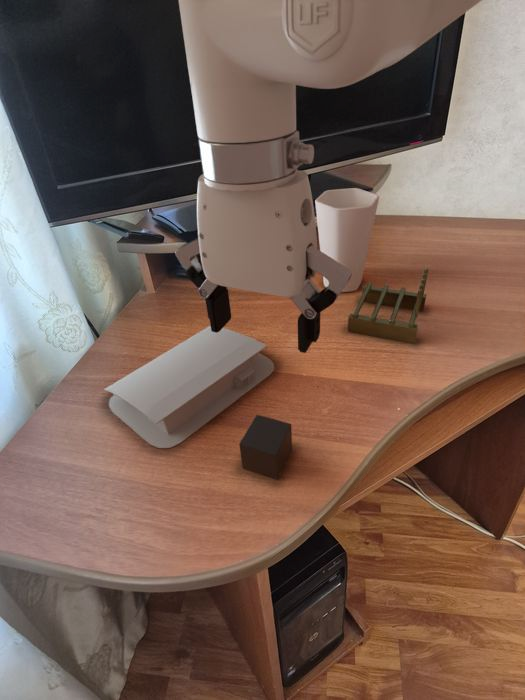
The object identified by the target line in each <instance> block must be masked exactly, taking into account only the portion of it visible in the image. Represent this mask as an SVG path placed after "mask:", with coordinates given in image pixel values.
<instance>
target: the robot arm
mask: <svg viewBox="0 0 525 700" xmlns="http://www.w3.org/2000/svg"><path fill="white" fill-rule="evenodd" d="M482 1H483V0H178V6H179V13H180V21H181V28H182V29H181V30H182V35H183V42H184V43H183V44H184V49H185V50H184V51H185V55H186V57H185V58H186V63H187V70H188V77H189V85H190V92H191V96H192V106H193V113H194V119H195V126H196V133H197V142H198V147H199V155H200V162H201V169H202V174H201V175H199V177H198V179H197V190H196V191H197V192H196V225H197V227H196V228H197V238H194V239H193V240H191V241H189V242H187V243H185V244H183V245H181V246H180V247H178V248H177V249H176V250H175V251H174V253H175V254H174V255H175V257H176V258H177V260H178V262H179V263H180V265H181V266H182V268H183V269H184V270H185V276H186V277H187V278H188V280H190V282H191V283H192V284H193V285H194V286H195V287H196V288H197V289H198V290H197V293H198V295H199V297H201V298H202V299H204V300H205V307H206V313H207V318H208V319H209V324H210V325H209V326H211V331H212V332H216V333H218V332H219V331H220V330H221V329H222V328H225V326H226V325H227V324H228V323H229V322H230V321H231V319H232V311H231V302H230V295H229V289H228V288H231V289H235V290H239V291H240V290H241V291H246V292H252V293H257V294H263V295H267V296H268V295H269V296H273V297H280V298H289V299H290V300H291V302H292V303H293V304H294V305H295V306H296V307H297V308H298V310H299V311H300V312H301V313H300V315H299V316H298V318H297V350H298V351H299V352H300V353H304V354H306V353H307V352H308V350H309V348H310V347H311V345H312V343H317V342H318V340H319V337H320V334H321V312H324V310H326V309H327V308H329V307H331V306H332V305H333V304H335V302H336V300H337V299H338V297H339V296H340V294H342V292H341V291H342V290H343V289H344V287H345V286H346V284H347V283H348V281H349V280H350V278H351V276H352V272H351V271H350V270H349V269H348V268H346V267H345V266H343V265H341V264H340V263H338V262H337V261H335V260H334V259H332V258H331V257H329V256H327V255H326V254H324V253H323V252H321V251H320V249H318V235H317V226H316V223H317V222H316V215H315V214H316V213H315V208H314V201H313V195H312V190H311V184H310V180H309V176H308V175H309V174H308V173H307V171H304V170H299V169H298V168H299V167H300V166H303V165H311V164H312V163H313V162H314V158H315V147H314V145H313V144H309V143H307V144H305V143H304V142H303V141H301V139H300V131H299V130H297V86H299V87H305V88H311V89H319V90H321V89H322V90H330V89H332V90H333V89H339V88H344V87H348V86H351V85H353V84H357V83H358V82H361V81H363V80H365V79H366V78H368V77H370V76H373V75H374V74H375V73H377V72H380V71H382V70H384V69H387V68H389V67H391V66H393V65H395V64H396V63H398V62H400V61H401V60H403V59H405V58H406V57H407V56H408V55H410V54H412V53H413V52H414V51H416V50H417V49H418V48H420V47H421V46H422V45H423V44H425V43H427V42H428V41H429V40H430V39H432V38H433V37H434V36H436V35H437V34H439V33H440V32H441V31H442V30H444V29H445V28H446V27H448V26H450V25H451V24H452V23H453V22H455V21H456V20H458V19H459V18H460V17H461V16H463V15H464V14H466V13H467V12H468V11H469V10H471V9H472V8H473V7H475V6H477V5H478V4H479V3H481V2H482ZM198 255H199V256H200V262H199V258H198ZM316 274H318V275H320V276H322V278H323V277H325V278H326V279H327V280H328V281H329V285H328V286H327V287H324V288H323V289H322V290H320V289H319V287H318V286H317V285H316V283H315V282H314V281H313V279H312V278H315V276H316Z"/></svg>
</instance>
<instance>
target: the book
mask: <svg viewBox="0 0 525 700" xmlns="http://www.w3.org/2000/svg"><path fill="white" fill-rule="evenodd" d="M267 347H268V345H267V344H265V343H263V342H262V341H259V340H257V339H255V338H253V337H251V336H248V335H245V334H242V333H240V332H238V331H234V330H232V329H229V328H225V327H223V328H222V329H221V330H220V331H219V332H218V333H216V332H212V331H211V325H208V326H207V327H205V328H204V329H202V330H200V331H199V332H197V333H195V334H194V335H191V336H190V337H188V338H187V339H185V340H184V341H182V342H180V343H178V344H177V345H175V346H174V347H172V348H170V349H169V350H167V351H165V352H163V353H162V354H160V355H158V356H157V357H155V358H153V359H152V360H150V361H148V362H147V363H145V364H144V365H142V366H140V367H138V368H137V369H135V370H134V371H132V372H130V373H129V374H127V375H125V376H123V377H122V378H120V379H119V380H117V381H115V382H113V383H112V384H110V385H108V386H107V387H105V388H104V391H105V392H109V393H111V394H112V396H111V397H110V398H109V402H108V404H107V405H108V408H109V409H110V411H111V412H112V413H113V414H114V415H115V416H116V417H117V418H118V419H119V420H121V421H122V422H123V423H125V425H126V426H128V427H129V429H131V430H132V431H133V432H135V433H136V434H137V435H138V436H139V437H140V438H141V439H143V440H144V441H145V442H146V443H147V444H149V445H151V446H152V447H154V448H158V449H171V448H173V447H175V446H178V445H180V444H182V442H184V441H185V440H186V439H187V438H189V437H190V436H192V435H193V434H195V432H197V431H198V430H200V429H202V427H204V426H205V425H206V424H207V423H209V422H210V421H211V420H213V419H214V418H216V416H218V415H219V414H221V413H222V412H223V411H225V410H226V409H227V408H228V407H230V406H232V405H233V404H234V403H235V402H236V401H237V400H239V399H240V398H242V397H243V396H244V395H246V394H247V393H249V391H251V390H253V388H255V387H256V386H258V385H259V384H260V383H261V382H263V381H264V380H265V379H266V378H268V377H269V376H271V374H272V373H273V372H274V370H275V364H274V361H272V359H270V358H269V357H268V356H265V355H263V354H261V353H260V352H262V351H264V349H266V348H267Z"/></svg>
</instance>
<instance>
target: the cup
mask: <svg viewBox="0 0 525 700" xmlns="http://www.w3.org/2000/svg"><path fill="white" fill-rule="evenodd" d="M379 200H380V196H379V195H378V194H377V193H374V192H371V191H367V190H364V189H362V188H359V187H352V188H350V187H349V188H348V187H347V188H338V189H328V190H325V191H323V192H322V193H321V194H320V195H319V196H318V197H317V198H316V199H315V200H314V203H315V214H316V223H317V233H318V242H319V243H318V244H319V250H320V251H321V252H323V253H324V254H326V255H327V256H329V257H331V258H332V259H334V260H335V261H337V262H338V263H340V264H341V265H343V266H345V267H346V268H348V269H349V270H350V271H351V272H352V276H351V278H350V280H349V281H348V283H347V284H346V286H345V287H344V289H343V290H342V291H341V293H349V292H355V291H357V290H358V289H359V287H360V285H361V284H362V280H363V275H364V271H365V266H366V262H367V257H368V252H369V247H370V243H371V238H372V233H373V229H374V224H375V219H376V214H377V211H378V205H379ZM322 282H323V286H324V288H326V287H327V286H328V285H329V281H328V280H327V279H326V278H325V277H323V276H322Z"/></svg>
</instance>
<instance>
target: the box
mask: <svg viewBox="0 0 525 700" xmlns="http://www.w3.org/2000/svg"><path fill="white" fill-rule="evenodd" d="M292 430H293V429H292V423H289V422H285V421H282V420H279V419H275V418H272V417H267V416H264V415H261V414H256V415H255V416H254V418H253V419H252V421H251V423H250V425H249V426H248V428H247V430H246V431H245V433H244V435H243V437H242V438H241V440H240V441H239V444H238V445H239V452H240V453H239V454H240V458H241V459H240V460H241V467H242V469H243V470H246V471H250V472H253V473H255V474H258V475H262V476H264V477H268V478H270V479H273V480H278V479H279V478H280V476H281V473H282V471H283V469H284V467H285V465H286V463H287V460H288V459H289V456H290V454H291V452H292V450H293V435H292V433H293V431H292Z"/></svg>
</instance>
